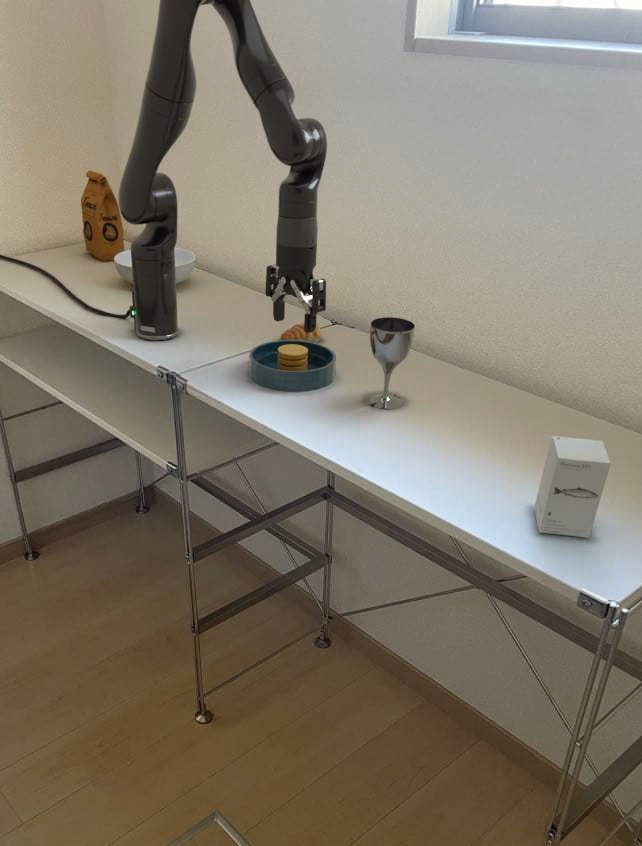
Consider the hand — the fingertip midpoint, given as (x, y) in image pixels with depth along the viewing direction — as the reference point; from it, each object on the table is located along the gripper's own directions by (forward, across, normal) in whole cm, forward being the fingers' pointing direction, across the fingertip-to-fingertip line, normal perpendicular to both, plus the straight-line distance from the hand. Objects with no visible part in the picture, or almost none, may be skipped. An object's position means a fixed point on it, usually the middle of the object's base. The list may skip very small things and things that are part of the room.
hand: (294, 326), depth 161 cm
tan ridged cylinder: (+10, 0, 0) cm, 10 cm away
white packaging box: (+11, +66, -7) cm, 67 cm away
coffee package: (+10, -98, +19) cm, 101 cm away
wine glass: (+11, +20, +6) cm, 23 cm away
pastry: (+11, -13, +16) cm, 23 cm away
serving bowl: (+10, -68, +15) cm, 71 cm away
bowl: (+10, 0, 0) cm, 11 cm away
